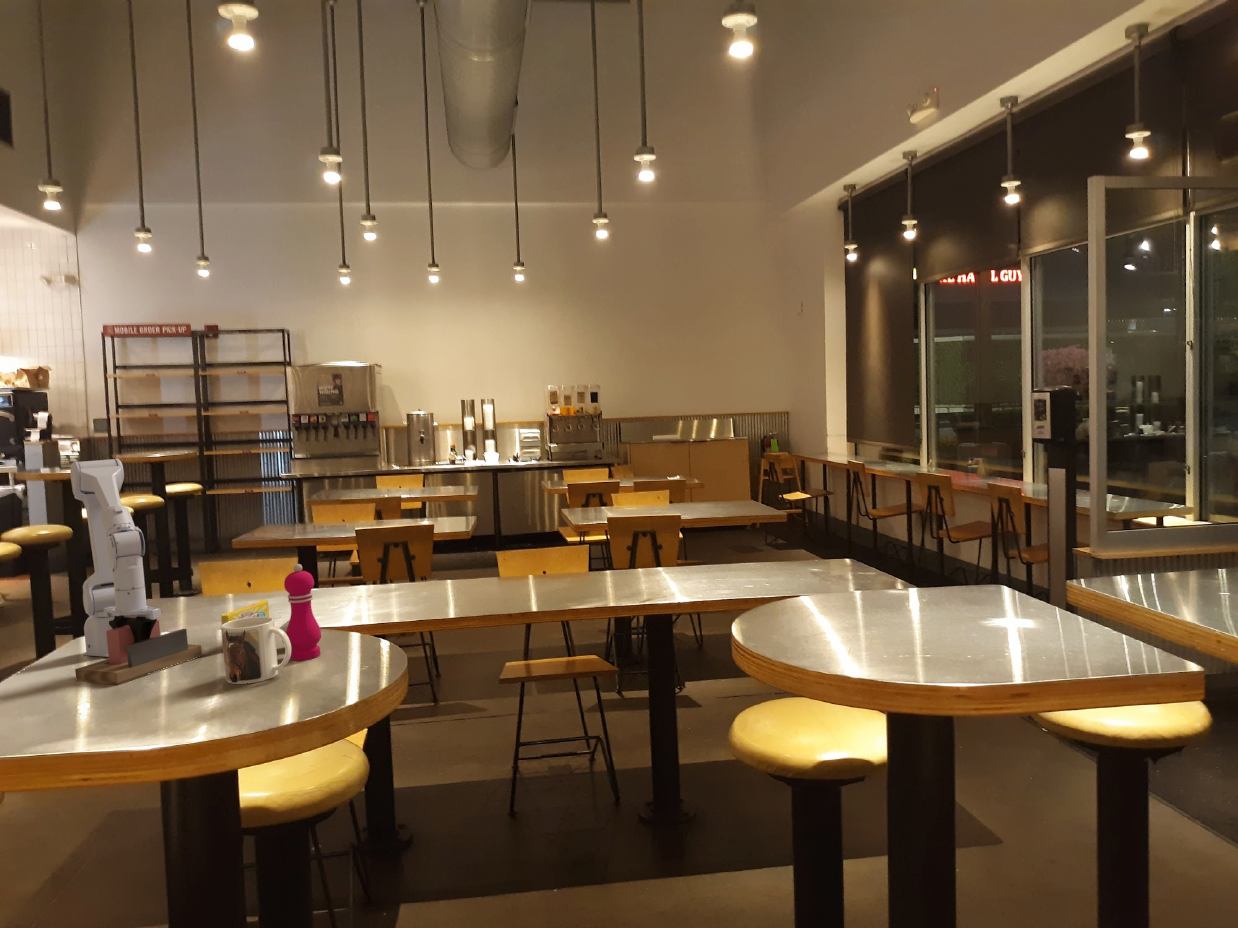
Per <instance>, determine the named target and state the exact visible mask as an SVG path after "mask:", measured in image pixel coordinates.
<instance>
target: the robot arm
mask: <svg viewBox="0 0 1238 928" xmlns="http://www.w3.org/2000/svg"><path fill="white" fill-rule="evenodd" d="M124 478H125V471H124V467H123V463H122V461H121V459H119V458H117V457H116V458H113V459H112V458H111V459H101V460H100V459H99V460H97V459H96V460H88V461H86V460H85V461H77V460H76V461H73V462H72V463H71V464H70V481H71V489H72V493H73V494H72V495H74V499H76V500H78V501H80V502H83V505H84V508H85V510H86V516H87V517H86V518H87V523H88V524H87V525H88V532H89V533H88V534H89V539H90V546H91V552H92V553H91V554H92V560H93V568H94V573H93V574H92V575H89V576H88V578H87V579H86V580H85V581H84V582H83V584H82V602H83V608H84V611H85V614H87V615H88V617H87V618H86V620H85V623H84V626H83V632H84V642H85V644H84V645H85V652H82V655H83V656H92V657H104V658H109V655H108V645H107V635H106V631H108V630H112V629H115V628H119V627H123V626H126V625H129V627H130V628H131V631H132V633H133V636H134V641H135V643H137V642H140V641H143V640H147V639H150V635H151V632H152V629H153V627H154V625H155V623H156V621H157V620H158V619H160V618H162V612H161V611H162V610H161V608H158V607H157V608H156V607H152V606H149V605H147V597H146V596H147V594H146V584H145V573H144V572H145V571H144V565H143V564H144V563H143V557H144V556H145V553H146V544H145V538H144V534H143V532H142V530H141V529H140V528H139V526H135V523H134V520H133V517H132V514H131V512H130V510H129V508H128V507H126V506H124V505H122V502H121V497H120V491H121V489H122V485H123V482H124ZM112 583H113V584H112ZM106 584H107V585H106ZM101 585H102V586H101Z"/></svg>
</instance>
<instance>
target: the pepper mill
mask: <svg viewBox="0 0 1238 928" xmlns="http://www.w3.org/2000/svg"><path fill="white" fill-rule="evenodd" d="M283 583H284V584H283V586H284V590H285V591H286V592H287V593H288V595H287V598H288V601H287V602H288V603H289V604H290V618H289V620H290V621H289V620H288V621H289V624H288V627H287V630H286V634H287V636H288V638H289V640H290V643H291V656H290V659H289V660H291V661H306V660H308V661H309V660H312V659H315V658H318V657H320V656H321V646H320V645H318V643H319V641H321V639H322V631H321V628H320V626H319V625H320V624H319V623H318V622H317V620H316V618H315V615H314V613H313V608H312V600H313V599H314V597H313V592H312V590H313V588H314V585H315V580H314V578H313V575H312V574H311V573H310V572H308V571H306V570H303V566H302V564H300V563H296V564H294V565H293V571H292V572H291V573H289V574H287V576H286V577H285V579H284V582H283Z"/></svg>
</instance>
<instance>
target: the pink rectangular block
mask: <svg viewBox="0 0 1238 928" xmlns="http://www.w3.org/2000/svg"><path fill="white" fill-rule="evenodd" d="M106 635H107V645H108V655H109V657H108V659H109V664H114V665H120V664H123V663H126V662H128V657H127V646H126V645H130V644H133V643H135V641H134V636H133V633H132V631H131V628H130V627H129V625H126V626H123V627H119V628H115V629H112V630H108V631H106ZM160 635H161V628H160V620H159V619H157V621H156V623H155V625H154V627H153V629H152V632H151V635H150V638H153V637H157V636H160Z"/></svg>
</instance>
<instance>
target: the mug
mask: <svg viewBox="0 0 1238 928" xmlns="http://www.w3.org/2000/svg"><path fill="white" fill-rule="evenodd" d="M220 631H221V642H222V653H223V663H224V664H223V665H224V675H225V681H227V682H226V683H228V684H233V685H247V683H248V684H255V683H259V682H260V683H261V682H263V681H266V680H270V679H273V678H274V677H276V676H278V674H279V670H280V669H282V668H283V667H285V666H287V664H288V663H289V661H290V660H291V659H290V656H291V649H292V648H291V643H290V640H289V638H288V636H287V634H286V633H285V632H284V631H283V630H282V629H280V627H277V626H275V620H274V618H273V617H270V616H269V617H250V618H243V619H237V620H233V621H230V622H227V623H224V624H223V625H222V624H221V626H220ZM276 635H277V636H278V637H279V638H280V639H281V641H282V640H283V642H284V643H283V642H282V643H283V645H284V657H283V660H282V661H281V663H279V662H278V653H277V650H278V649H277V642H276V641H277V640H276ZM278 663H279V664H278Z"/></svg>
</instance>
